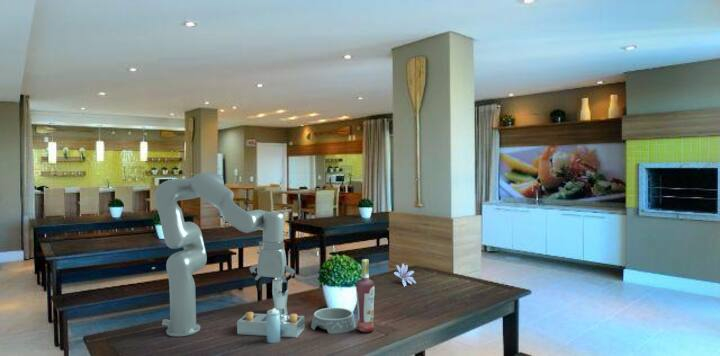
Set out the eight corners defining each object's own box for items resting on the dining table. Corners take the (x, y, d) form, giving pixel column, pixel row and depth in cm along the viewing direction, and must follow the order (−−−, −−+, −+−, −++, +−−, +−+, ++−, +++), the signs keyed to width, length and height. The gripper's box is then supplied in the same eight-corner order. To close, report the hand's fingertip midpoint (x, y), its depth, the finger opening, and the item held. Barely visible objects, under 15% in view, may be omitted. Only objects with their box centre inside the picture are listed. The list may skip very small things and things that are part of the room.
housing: (237, 334, 183) (237, 321, 183) (247, 325, 193) (247, 313, 193) (297, 337, 179) (297, 324, 179) (304, 328, 189) (304, 315, 189)
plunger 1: (244, 326, 186) (244, 313, 186) (247, 323, 189) (247, 311, 189) (251, 326, 186) (251, 314, 185) (254, 324, 189) (254, 311, 188)
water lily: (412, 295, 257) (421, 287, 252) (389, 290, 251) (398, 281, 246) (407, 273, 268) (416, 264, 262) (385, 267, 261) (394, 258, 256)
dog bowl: (327, 316, 204) (327, 304, 204) (363, 323, 194) (363, 310, 194) (302, 328, 190) (302, 315, 189) (340, 337, 180) (340, 323, 180)
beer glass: (285, 316, 203) (284, 282, 203) (270, 315, 204) (269, 281, 204) (290, 311, 210) (290, 278, 209) (276, 310, 211) (275, 277, 211)
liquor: (368, 335, 181) (368, 262, 180) (352, 331, 185) (352, 260, 184) (378, 329, 187) (377, 259, 186) (362, 326, 191) (362, 257, 190)
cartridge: (269, 337, 179) (269, 307, 179) (282, 338, 178) (281, 307, 178) (264, 342, 174) (264, 311, 174) (277, 343, 174) (277, 311, 173)
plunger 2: (288, 328, 183) (288, 315, 183) (290, 326, 186) (290, 313, 186) (296, 329, 183) (295, 316, 182) (298, 326, 186) (298, 313, 185)
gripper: (246, 245, 173) (245, 292, 174) (292, 249, 170) (290, 296, 171) (254, 242, 180) (253, 286, 181) (298, 245, 177) (297, 290, 178)
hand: (271, 291), depth 176 cm, fingers open, 9 cm apart
